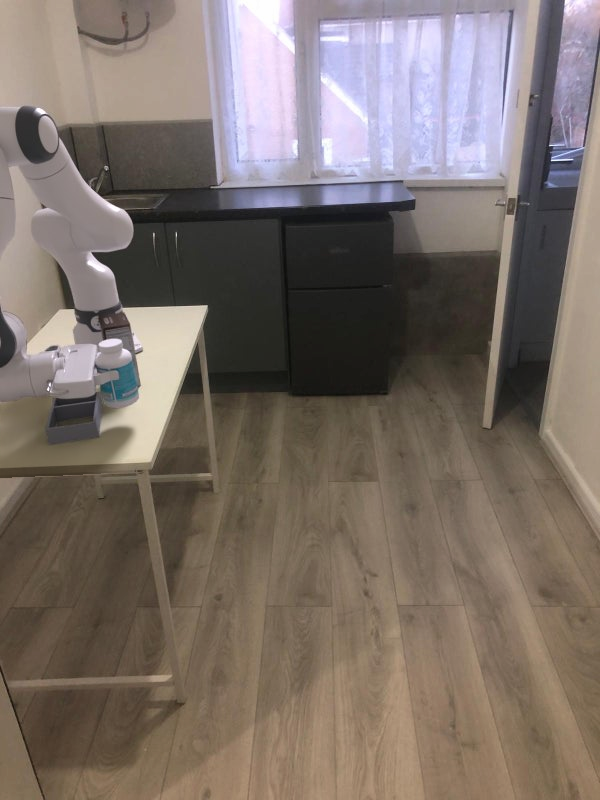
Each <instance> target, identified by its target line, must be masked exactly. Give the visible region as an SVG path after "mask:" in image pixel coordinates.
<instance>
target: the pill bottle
mask: <svg viewBox="0 0 600 800" xmlns="http://www.w3.org/2000/svg"><path fill="white" fill-rule="evenodd" d="M99 350H100V353H99V354H98V355H97V356H96V358H95V364H96V369H97V373H104V372H108V371H109V370H111V369H118V371H119V379H118V380H111V381H109V382H107V383H104V384H102V385H99V387H100V391H101V398H102V402H103V404H104V405H105V406H106V407H109V408H111V409H122V408H126V407H129V406H132V405H134V404H135V403H137V402H138V400H139V399H140V393H139V388H138V387H139V386H137V382H136V376H135V371H134V366H133V361H132V356H131V353H130V352H129V351H128V350H126V349H123V344H122V341H121V340H120V339H108V340H104V341H102V342H100V343H99Z"/></svg>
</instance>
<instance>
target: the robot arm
mask: <svg viewBox="0 0 600 800" xmlns="http://www.w3.org/2000/svg"><path fill="white" fill-rule="evenodd" d="M12 167H17V168H18V169H19V171H20V172H21V174H22V176H23V177H24V179H25V181H26V183H27V185H28V186H29V188H30V189H31V191H32V193H33V195H34V196H35V197H36V199H37V200H38V201H39V203H41V204H42V205H43V206H44V207H45V208H41V209H38V210H37V211H35V213H34V214H33V216H32V218H31V220H30V232H31V236H32V238H33V241H35V243H36V245H37V246H39V247H40V248H41V249H43V250H45V251H46V252H47V253H48V254H50V256H52V257H53V258H54V259H55V261H56V262H57V264H58V265H59V266H60V268H61V269H62V270H63V272H64V274H65V276H66V279H67V281H68V284H69V288H70V291H71V295H72V298H73V303H74V307H73V311H74V317H75V320H76V324H75V325H74V327H73V328H72V337H73V341H74V344H69V345H68V344H67V345H64V346H62V347H61V345H60V344H53V345H50V346H48V347H47V348H46V349H44V350H43V351H41V352H39V353H32V354H28V353H27V351H28V350H27V348H28V347H27V346H28V344H27V343H28V340H27V339H28V337H27V335H28V334H27V329H26V326H25V324H24V322H23V321H22V320H21V319H20V317H18V316H17V315H16V314H14V313H12V312H10V311H6V310H3V308H2V296H1V294H2V293H1V291H0V403H5V402H7V403H8V402H14V401H18V400H20V399H23V398H35V399H37V398H44V397H58V398H60V399H73V398H85V397H90V396H92V395H94V394H95V392H96V388H97V386H100V385H102V384H104V383H107V382H109V381H111V380H118V379H119V371H118V369H111V370H109V371H108V372H104V373H97V369H96V364H95V358H96V356H97V355H98V354H99V353H100V350H99V343H100V342H102V341H103V338H102V333H101V328H100V323H99V319H98V316H102V315H108V314H117V313H123V312H124V310H123V309H124V308H123V305H122V302H121V300H120V299H119V294H118V289H117V283H116V277H115V275H114V272H113V271H112V270H111V268H109V267H108V266H107V265H105V264H103V263H101V262H100V261H99V260H97V258H96V257H95V256H94V255H93V254H92V253H110V252H115V251H119V250H124V249H127V248H128V246H129V245H130V244H131V242H132V239H133V238H134V225H133V221H132V219H131V217H130V215H129V213H128V212H126V210H125V209H123V208H121V207H118V206H116V205H114V204H112V203H110V201H107V200H105V198H103V197H101V195H100V194H98V193H97V192H96V191H94V189H92V188H91V186H90V185H88V183H87V182H86V181H85V180H84V178H83V176H82V175H81V173H80V171H79V170H78V168H77V167H76V165H75V162H74V161H73V159H72V157H71V155H70V154H69V152H68V149H67V148H66V146H65V144H64V142H63V141H62V139H61V138H60V134H59V130H58V127H57V125H56V122H55V120H54V119H53V117H52V116H51V115H50V114H49V113H48V112H46V111H45V110H44V109H42V108H40V107H36V106H32V105H22V106H9V105H8V106H4V105H3V106H0V260H1V258H2V256H3V254H4V252H5V249H6V248H7V246H8V245H9V244H10V242H11V241H12V240H13V238H14V237H15V234H16V233H15V232H16V223H17V221H16V219H17V212H16V211H17V210H16V201H15V194H14V186H13V180H12V177H11V172H10V168H12ZM130 326H131V327H132V325H131V324H130ZM131 331H132V337H133V343H134V348H135V354H137V353H139V352H142V351H143V350H144V348H143V344H142V343H141V341H140V340H139V338H138V337H137V335H136V334H135V332H134V331H133V330H132V329H131Z"/></svg>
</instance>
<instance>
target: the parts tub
mask: <svg viewBox="0 0 600 800" xmlns="http://www.w3.org/2000/svg"><path fill="white" fill-rule="evenodd" d="M102 411H103V400H102V395H101V393H100V391H95V394H94V395H92V396H90V397H85V398H73V399H60V398H58V397H57V396H54V397H53V398H52V402H51V406H50V410H49V414H48V416H47V421H46V425H45V429H44V430H45V435H46V439H47V442H48V445H55V444H61V443H67V442H75V441H76V442H77V441H81V440H90V439H97V438H100V431H101V425H102V424H101V423H102V422H101V420H102V415H103V414H102ZM92 417H93V419H92V421H89V422H81V423H73V424H68V425H60V426H57V424H58V422H66V421H71V420H79V419H85V418H86V419H87V418H92Z"/></svg>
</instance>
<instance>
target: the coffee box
mask: <svg viewBox="0 0 600 800" xmlns="http://www.w3.org/2000/svg"><path fill="white" fill-rule="evenodd" d="M98 319H99V323H100V328H101V333H102V338H103V341H104V340H108V339H120V340H121V341H122V344H123V349H126V350H128V351H129V352H130V353H131V356H132V361H133V366H134V371H135V376H136V382H137V387H141V385H142V384H141V379H140V373H139V372H140V371H139V367H138V361H137V355H136V354H137V353H135V348H134V343H133V337H132V331H133V330H132V325H131V322H130V321H129V318H128V317H127V315H126V313H125V312H124V311H123V313H117V314H108V315H102V316H98ZM130 325H131V326H130ZM131 330H132V331H131Z"/></svg>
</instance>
